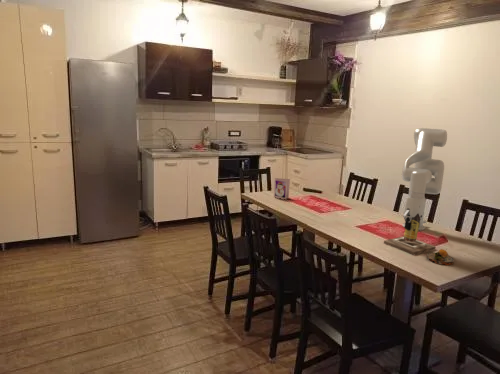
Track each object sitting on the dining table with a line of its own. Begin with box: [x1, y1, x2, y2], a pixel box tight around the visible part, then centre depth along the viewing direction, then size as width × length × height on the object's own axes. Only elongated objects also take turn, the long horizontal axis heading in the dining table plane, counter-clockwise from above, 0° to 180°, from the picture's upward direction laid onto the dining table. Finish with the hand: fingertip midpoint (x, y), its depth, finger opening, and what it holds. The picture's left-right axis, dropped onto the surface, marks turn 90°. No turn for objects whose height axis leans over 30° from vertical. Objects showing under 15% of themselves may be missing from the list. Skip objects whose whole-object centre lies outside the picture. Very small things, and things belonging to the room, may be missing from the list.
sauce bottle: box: [403, 206, 420, 242], centre depth 198 cm, size 7×6×20 cm
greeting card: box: [273, 177, 291, 200], centre depth 291 cm, size 11×7×15 cm, turn 53°
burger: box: [426, 248, 454, 266], centre depth 183 cm, size 12×12×8 cm
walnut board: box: [383, 235, 436, 256], centre depth 200 cm, size 18×18×2 cm
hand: (411, 228), depth 198 cm, fingers closed on sauce bottle, 6 cm apart
